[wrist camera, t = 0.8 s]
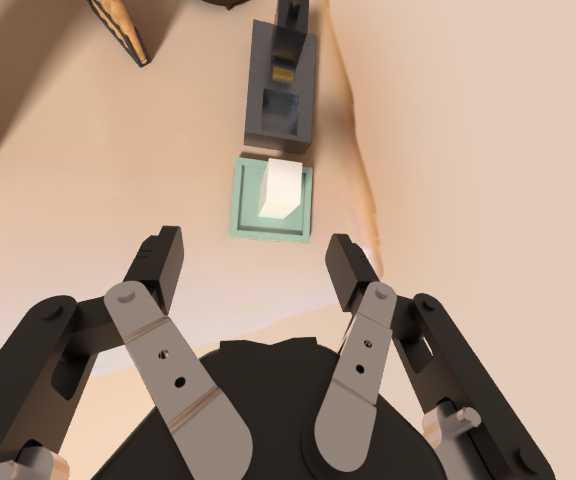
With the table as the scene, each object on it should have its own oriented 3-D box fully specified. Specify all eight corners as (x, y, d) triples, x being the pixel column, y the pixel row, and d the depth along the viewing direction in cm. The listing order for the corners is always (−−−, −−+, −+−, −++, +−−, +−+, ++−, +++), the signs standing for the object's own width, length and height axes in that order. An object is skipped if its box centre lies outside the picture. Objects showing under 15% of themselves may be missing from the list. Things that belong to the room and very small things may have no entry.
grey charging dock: (243, 144, 39) (247, 88, 26) (251, 42, 41) (259, -56, 28) (303, 154, 41) (334, 106, 29) (309, 56, 43) (339, -30, 30)
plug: (258, 216, 38) (266, 200, 28) (260, 184, 38) (269, 158, 28) (283, 218, 38) (300, 203, 29) (285, 187, 39) (302, 162, 29)
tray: (229, 237, 37) (229, 236, 35) (235, 162, 39) (235, 156, 37) (305, 243, 40) (308, 242, 38) (308, 172, 41) (312, 167, 39)
